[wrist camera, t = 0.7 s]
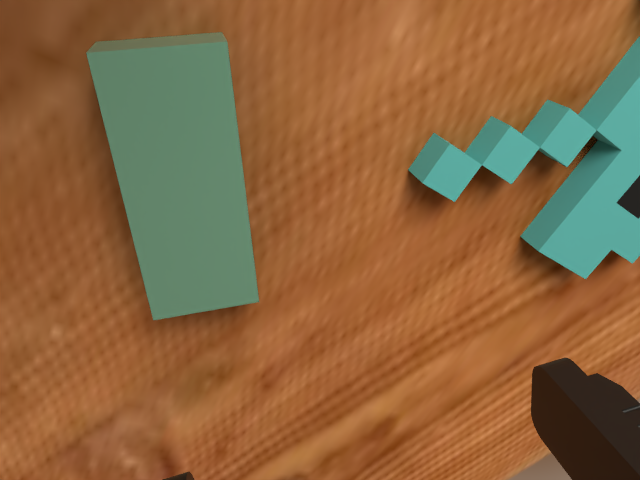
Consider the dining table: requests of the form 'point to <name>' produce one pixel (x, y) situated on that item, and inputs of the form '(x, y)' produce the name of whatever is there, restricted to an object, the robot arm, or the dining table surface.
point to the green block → (179, 168)
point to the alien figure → (563, 146)
